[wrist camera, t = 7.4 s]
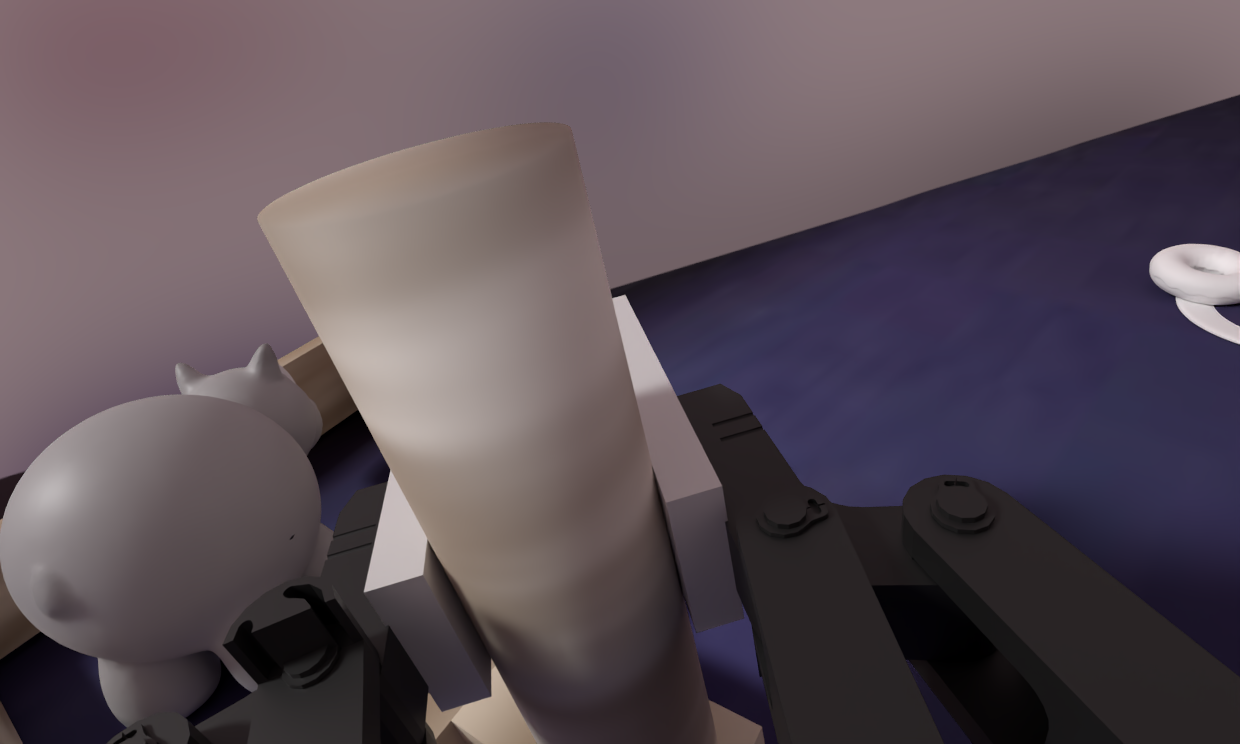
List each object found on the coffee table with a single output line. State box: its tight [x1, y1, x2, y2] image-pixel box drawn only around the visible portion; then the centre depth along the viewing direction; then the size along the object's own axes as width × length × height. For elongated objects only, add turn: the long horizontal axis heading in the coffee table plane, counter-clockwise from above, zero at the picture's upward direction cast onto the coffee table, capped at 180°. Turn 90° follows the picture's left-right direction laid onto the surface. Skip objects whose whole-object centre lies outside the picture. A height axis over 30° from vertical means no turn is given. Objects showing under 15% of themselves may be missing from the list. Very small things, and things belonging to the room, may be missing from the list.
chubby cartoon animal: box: [0, 344, 334, 728], centre depth 21 cm, size 8×12×9 cm, turn 5°
